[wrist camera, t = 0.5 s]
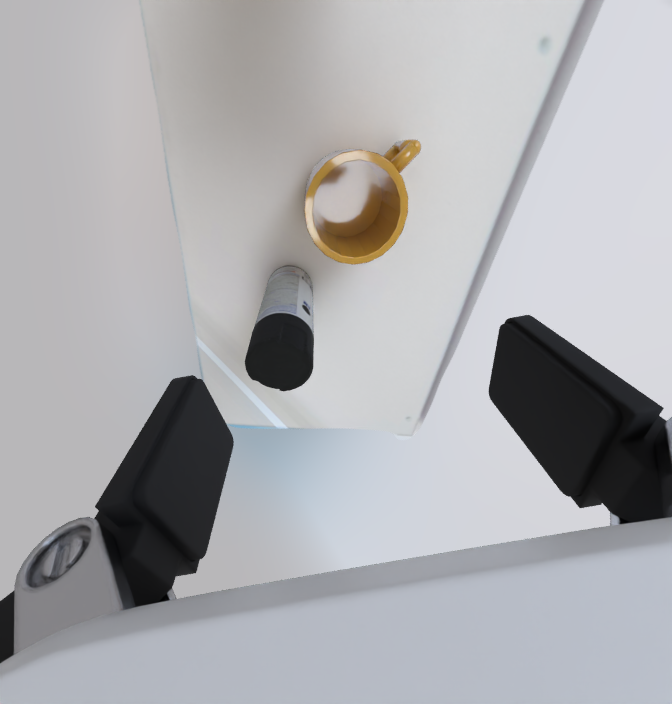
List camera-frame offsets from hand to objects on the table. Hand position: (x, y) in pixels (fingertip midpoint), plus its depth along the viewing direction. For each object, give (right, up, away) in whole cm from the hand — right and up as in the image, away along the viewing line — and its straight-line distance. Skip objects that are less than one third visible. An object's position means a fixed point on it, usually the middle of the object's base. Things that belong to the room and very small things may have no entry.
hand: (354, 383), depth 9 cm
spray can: (-8, +11, +35) cm, 38 cm away
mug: (+2, +22, +28) cm, 36 cm away
